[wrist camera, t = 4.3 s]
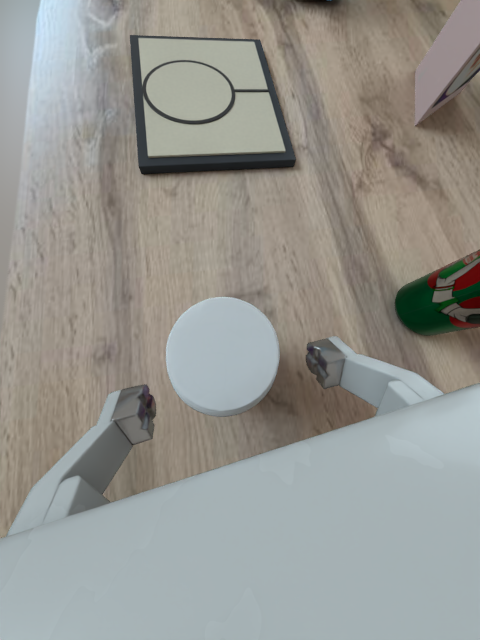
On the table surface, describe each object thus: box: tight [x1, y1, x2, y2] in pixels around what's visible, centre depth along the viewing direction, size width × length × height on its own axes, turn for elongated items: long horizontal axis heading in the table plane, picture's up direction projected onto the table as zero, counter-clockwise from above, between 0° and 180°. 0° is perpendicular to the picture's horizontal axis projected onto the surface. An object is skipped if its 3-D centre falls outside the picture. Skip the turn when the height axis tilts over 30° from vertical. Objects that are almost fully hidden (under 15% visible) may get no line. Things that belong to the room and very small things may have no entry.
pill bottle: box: [166, 297, 280, 417], centre depth 12 cm, size 5×5×10 cm
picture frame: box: [130, 35, 296, 174], centre depth 23 cm, size 16×20×1 cm
